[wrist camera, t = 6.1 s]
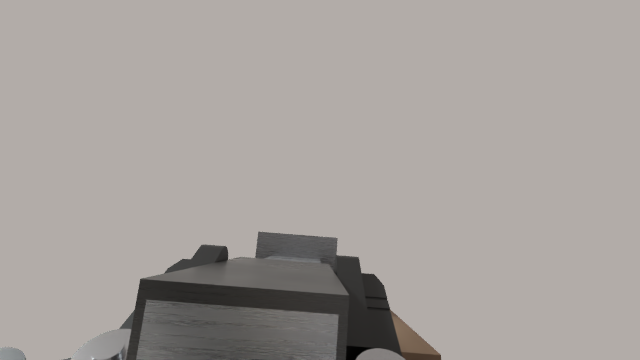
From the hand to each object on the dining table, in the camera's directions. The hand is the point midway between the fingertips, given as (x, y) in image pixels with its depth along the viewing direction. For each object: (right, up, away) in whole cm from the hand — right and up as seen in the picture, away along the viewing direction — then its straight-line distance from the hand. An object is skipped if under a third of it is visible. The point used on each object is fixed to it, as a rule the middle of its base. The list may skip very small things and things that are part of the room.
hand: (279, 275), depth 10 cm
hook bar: (0, -4, +4) cm, 6 cm away
